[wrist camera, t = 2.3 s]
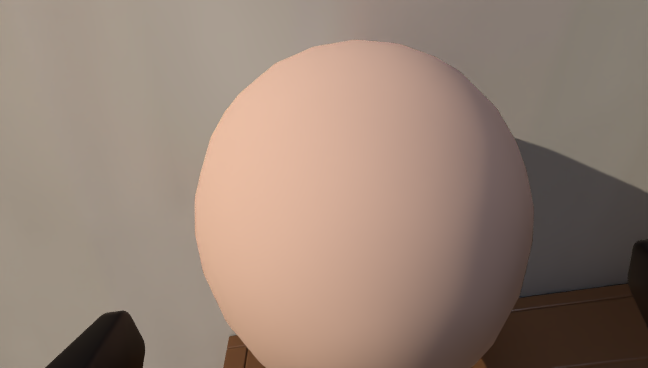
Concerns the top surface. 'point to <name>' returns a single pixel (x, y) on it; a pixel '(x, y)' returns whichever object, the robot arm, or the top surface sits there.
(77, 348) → the robot arm
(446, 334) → the egg
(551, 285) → the top surface
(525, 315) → the tray
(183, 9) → the top surface
